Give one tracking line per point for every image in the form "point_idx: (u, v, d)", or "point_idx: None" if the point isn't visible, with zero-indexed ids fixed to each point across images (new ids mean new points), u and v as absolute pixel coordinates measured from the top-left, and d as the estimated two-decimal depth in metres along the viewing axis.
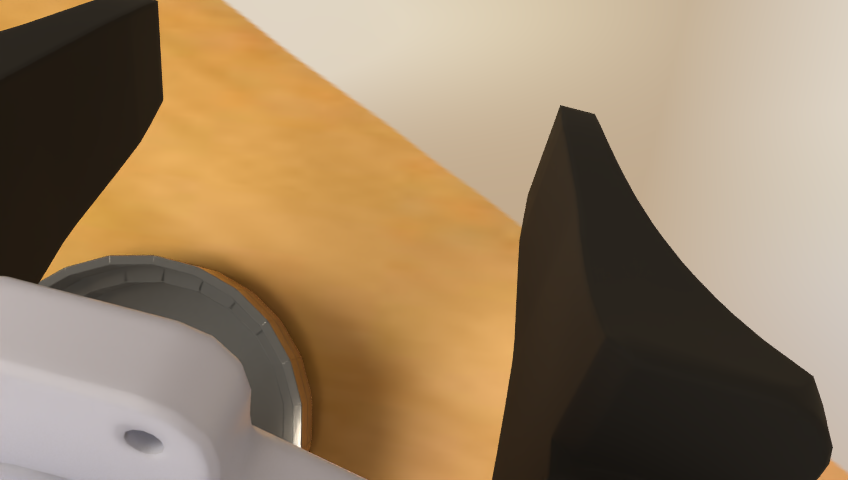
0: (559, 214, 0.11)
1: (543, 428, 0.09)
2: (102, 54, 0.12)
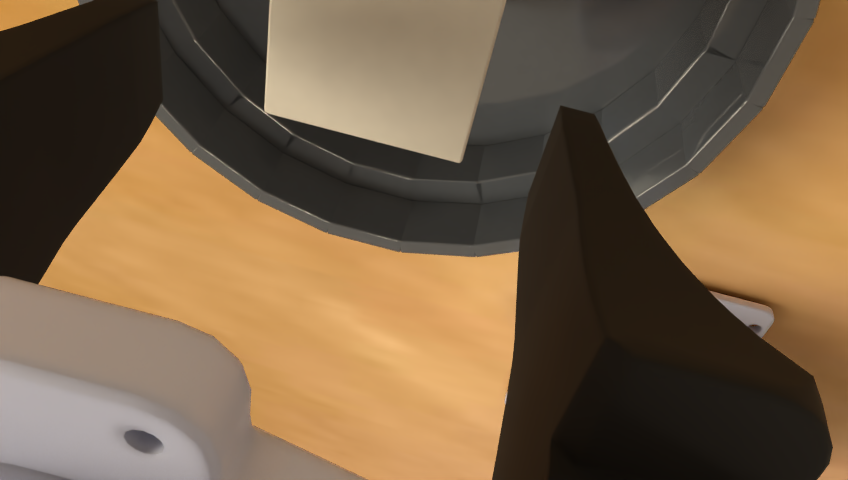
0: (559, 214, 0.11)
1: (543, 428, 0.09)
2: (102, 54, 0.12)
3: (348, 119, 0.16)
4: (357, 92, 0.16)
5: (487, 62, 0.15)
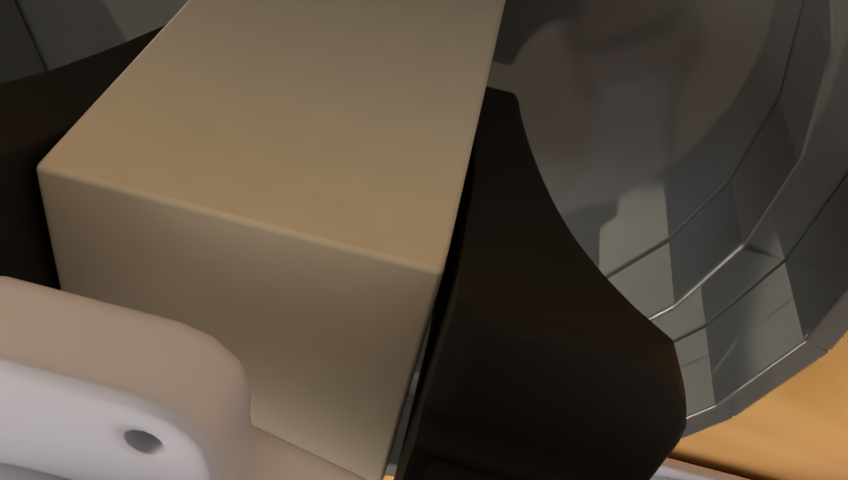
0: (465, 190, 0.11)
1: (423, 396, 0.09)
2: None
3: None
4: None
5: (410, 378, 0.09)
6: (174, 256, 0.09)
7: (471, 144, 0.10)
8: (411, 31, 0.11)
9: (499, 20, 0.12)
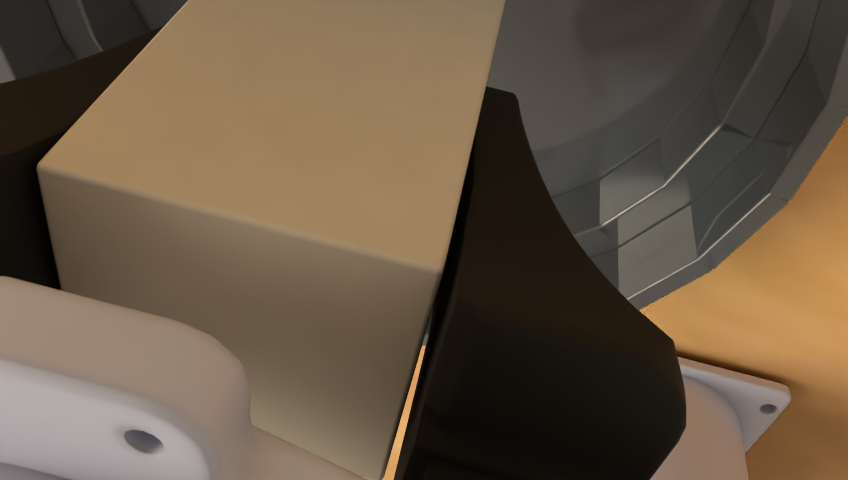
0: (465, 190, 0.11)
1: (422, 396, 0.09)
2: None
3: None
4: None
5: (409, 377, 0.09)
6: (175, 255, 0.09)
7: (471, 143, 0.10)
8: (411, 30, 0.12)
9: (499, 20, 0.12)
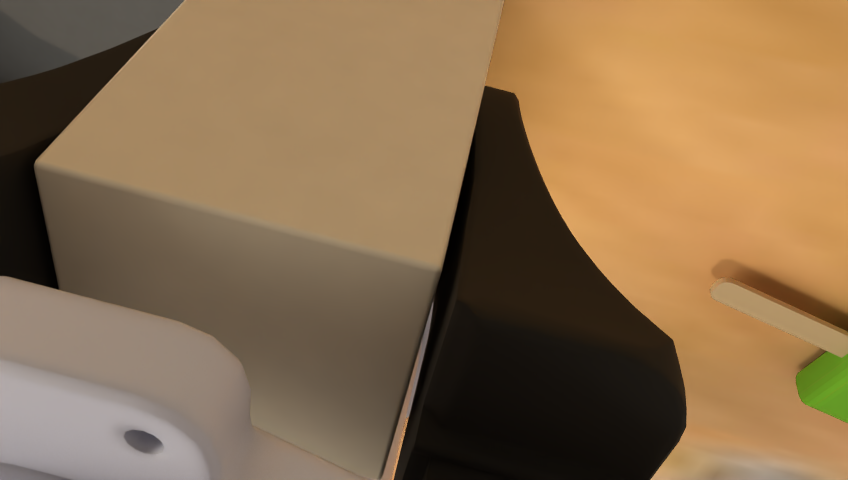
0: (465, 190, 0.11)
1: (422, 396, 0.09)
2: None
3: None
4: None
5: (408, 375, 0.09)
6: (173, 252, 0.09)
7: (470, 141, 0.10)
8: (409, 29, 0.11)
9: (498, 18, 0.12)
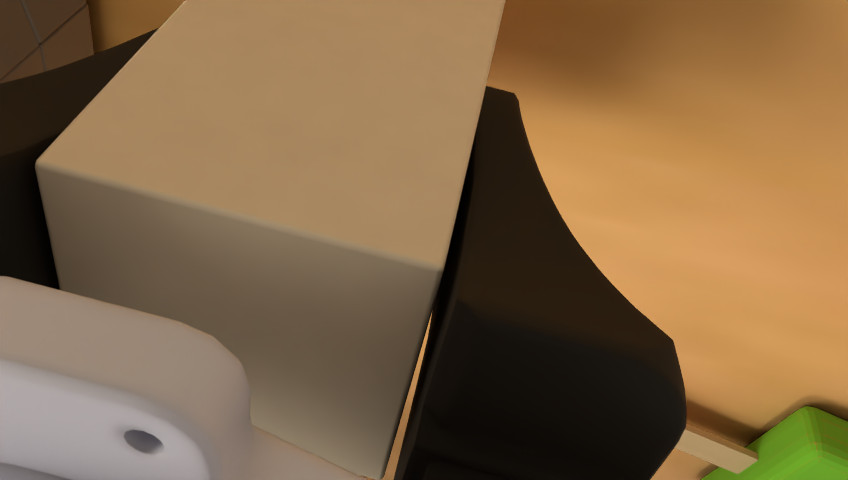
0: (465, 189, 0.11)
1: (422, 396, 0.09)
2: None
3: None
4: None
5: (410, 375, 0.09)
6: (174, 252, 0.09)
7: (472, 141, 0.10)
8: (411, 27, 0.11)
9: (500, 17, 0.12)
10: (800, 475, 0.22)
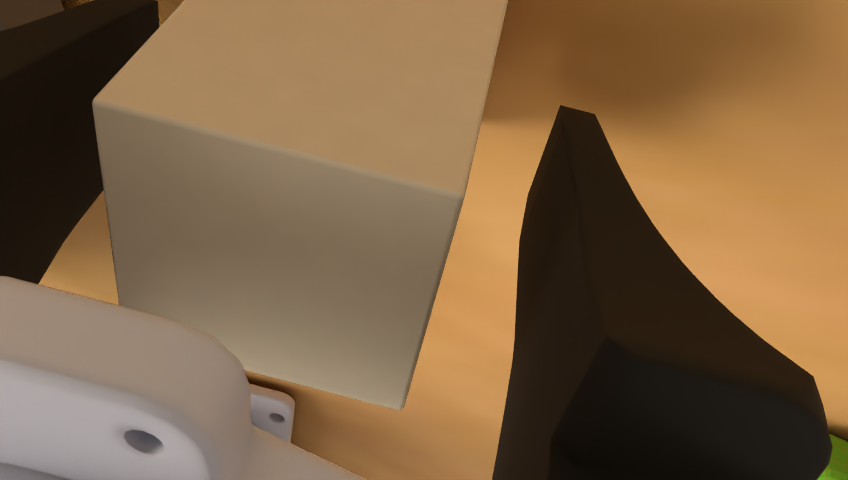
0: (559, 214, 0.11)
1: (543, 428, 0.09)
2: (101, 53, 0.12)
3: (240, 354, 0.12)
4: (248, 325, 0.11)
5: (431, 303, 0.10)
6: (217, 185, 0.09)
7: (487, 89, 0.11)
8: None
9: None
10: None
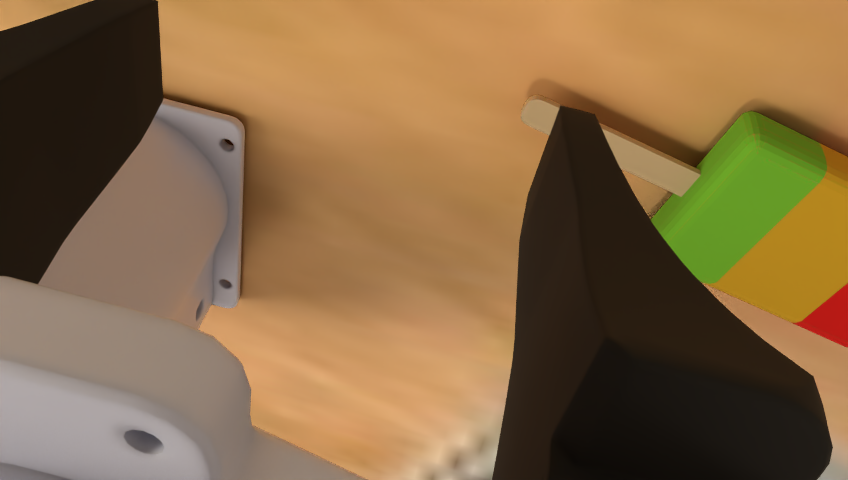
0: (559, 214, 0.11)
1: (543, 428, 0.09)
2: (102, 54, 0.12)
3: None
4: None
5: None
6: None
7: None
8: None
9: None
10: (740, 175, 0.22)
